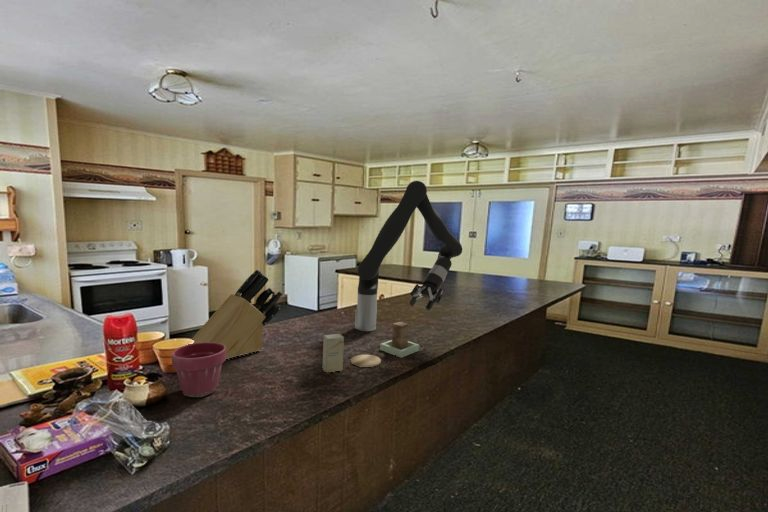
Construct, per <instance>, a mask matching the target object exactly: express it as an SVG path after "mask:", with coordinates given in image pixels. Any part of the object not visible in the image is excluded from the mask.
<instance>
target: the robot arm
mask: <svg viewBox="0 0 768 512" xmlns="http://www.w3.org/2000/svg"><path fill="white" fill-rule="evenodd" d="M427 193H428V191H427V186H426V184H425V183H424V182H423V181H421V180H413V181H411V182H409V183H408V184H407V186H406V189H405V191H404V193H403V196H402V198H401V200H400V202H399V203H398V205H397V206H396V207H395V208H394V210H393V211H392V213H390V215H389V217H388V218H387V219H386V220H385V222H384V224H383V225H382V227H381V229H380V231H379V232H378V234H377V236H376V237H375V239H374V242H373V245H372V247H371V248H370V250H369V251H368V253H367V254H366V255H365V257H364V258H363V260H362V261H361V262H360V263H359V264H358V266H357V274H358V276H359V277H358V286H357V303H356V305H357V306H356V308H355V311H354V315H355V316H354V329H355V330H358V331H361V332H373V331H376V330H377V329H376V328H377V308H378V307H377V306H378V288H379V276H380V275H379V272H380V266H381V265H382V263H383V261H384V259H385V258H386V256H387V255H388V254H389V252H390V251H391V250H392V249H393V248H394V246H395V245H396V243H397V242H398V241H399V239H400V238H401V236H402V234H403V233H404V231H405V229H406V227H407V225H408V224H409V222H410V220H411V216H412V215H413V213H414V211H415V210H416V209H417V210H418V211H419V212H420V214H421V215H422V218H423V219H424V221H425V223H426V224H427V227H428V228H429V230H430V231H431V234H432V235H433V237H434V238H435V240H436V241H437V242H441V243H443V245H442V246H441V247H440V249H439V250H438V251H439V252H438V255H437V259H436V261H435V262H434V264H433V266H432V267H431V269H430V270H429V272H428V273H427V275H426V276H425V278H424V280H423V284H422V285H419V283H418V284H417V283H416V284H415V285H414V287H413V288H412V290H411V292H410V293H409V295H410V296H411V299H410V300H409V305H410V307H412V308H413V307H414V306H415V304H416V302H417V301H418V299H420V298H421V299H422V298H423V297H425V298H429V301H428V302H427V304H426V306H425V309H426V310H427V311H431V309H432V308H433V306H434V304H436V303H437V304H439V303H441V299H442V298H443V296H444V291H443V289H442V288H441V287H442V285H443V283H444V282H445V280H446V278H447V275H448V273H449V271H450V269H451V267H452V264H453V263H452V260H451V259H453V258H456V257H459V256H460V255H461V254H462V253H463V247H462V244H461V242H460V241H459V240H458V239H457V237H456V236H455V235H453V234H452V233H451V232H450V230H449V229H448V227H447V225H446V223H445V222H444V220H443V219H442V217H441V216H440V214H439V213H438V212H437V211H436V209H435V208H434V206H433V205H432V203H431V201H430V199H429V196H428V194H427Z"/></svg>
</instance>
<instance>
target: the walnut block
mask: <svg viewBox="0 0 768 512" xmlns="http://www.w3.org/2000/svg"><path fill="white" fill-rule="evenodd" d="M409 326H410V325H409V323H406V322H403V321H397V322H394V323H392V334H391V335H392V336H391V337H392V338H391V340H392V347H395V348H397V349H400V350H402V349H405V348H407V347H408V341H409Z"/></svg>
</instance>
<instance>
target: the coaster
mask: <svg viewBox="0 0 768 512" xmlns="http://www.w3.org/2000/svg"><path fill="white" fill-rule="evenodd" d="M381 362H382V360H381V358H380V357H379V356H376V355H373V354H358V355H355V356H352V357H351V359H350V363H351V365H353V364H354V365H356V366H355V367H357V366H359V367H358V368H362V367H371V368H375V367H374V366H376V367H378V366H380V365H381V364H382V363H381ZM379 364H380V365H379ZM354 365H353V366H354ZM377 365H378V366H377Z"/></svg>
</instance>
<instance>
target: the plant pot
mask: <svg viewBox="0 0 768 512" xmlns="http://www.w3.org/2000/svg"><path fill="white" fill-rule="evenodd" d="M187 344H188V343H187ZM187 344H185V345H183V346H179V347H178V348H175V349H174V350H173V351H172V352H171V366H172V368H173V369H175V371H176V375H177V378H178V379H177V380H178V382H179V386H180V389H181V391H183V392H184V393H187V394H201V393H205V392H209V391H211V390H213V389H215V388H216V387H217V388H218V386H217V385H218V384H219V381H220V377H221V371H222V368H223V363H224V362H225V361H227V360H226V347H225V346H224V345H223V344H220V343H215V342H201V343H193V344H188V345H187ZM183 392H182V393H183Z"/></svg>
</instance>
